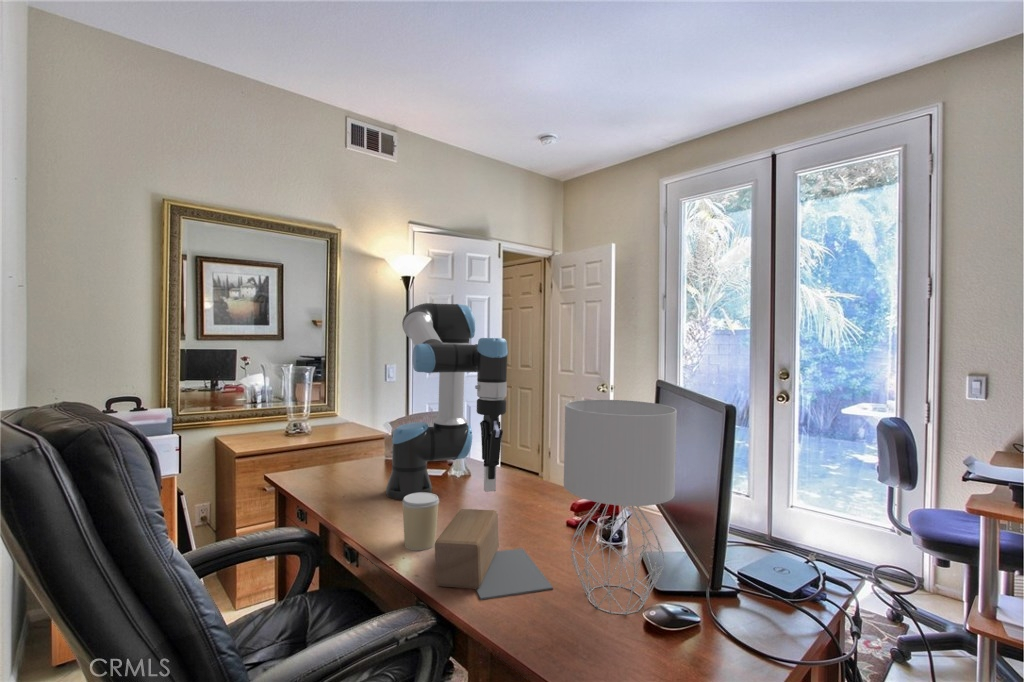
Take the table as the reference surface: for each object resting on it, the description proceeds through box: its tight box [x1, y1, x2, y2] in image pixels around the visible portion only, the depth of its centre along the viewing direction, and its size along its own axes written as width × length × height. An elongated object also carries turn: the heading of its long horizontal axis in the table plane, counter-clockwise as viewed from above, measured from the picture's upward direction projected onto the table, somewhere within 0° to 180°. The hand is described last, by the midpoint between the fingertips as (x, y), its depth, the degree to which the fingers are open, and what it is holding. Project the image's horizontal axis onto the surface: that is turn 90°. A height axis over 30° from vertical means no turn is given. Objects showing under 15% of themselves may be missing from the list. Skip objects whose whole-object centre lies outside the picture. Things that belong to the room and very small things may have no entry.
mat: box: [475, 547, 554, 601], centre depth 112 cm, size 20×16×1 cm
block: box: [434, 508, 500, 590], centre depth 113 cm, size 10×10×20 cm
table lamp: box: [563, 399, 678, 616], centre depth 101 cm, size 22×22×40 cm
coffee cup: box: [401, 492, 440, 551], centre depth 126 cm, size 9×9×12 cm
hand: (489, 490), depth 125 cm, fingers closed
